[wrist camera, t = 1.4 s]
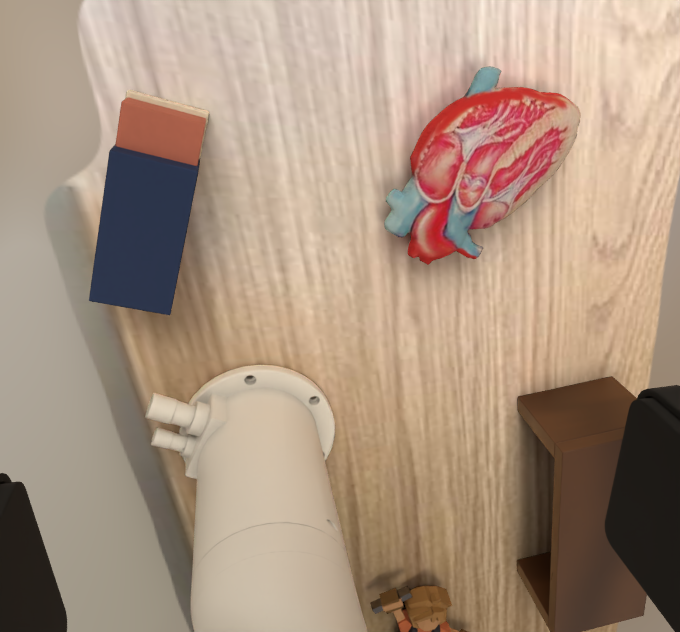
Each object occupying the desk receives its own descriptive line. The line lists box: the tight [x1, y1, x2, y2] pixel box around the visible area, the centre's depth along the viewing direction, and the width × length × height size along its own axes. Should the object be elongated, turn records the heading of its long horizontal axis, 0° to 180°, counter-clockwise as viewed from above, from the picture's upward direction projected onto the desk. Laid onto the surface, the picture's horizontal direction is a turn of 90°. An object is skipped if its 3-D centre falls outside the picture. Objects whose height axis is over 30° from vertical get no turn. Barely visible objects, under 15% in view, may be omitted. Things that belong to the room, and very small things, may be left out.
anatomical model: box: [384, 67, 581, 264], centre depth 42 cm, size 9×15×4 cm, turn 141°
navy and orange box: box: [89, 90, 209, 315], centre depth 39 cm, size 13×5×5 cm, turn 164°
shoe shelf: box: [517, 377, 647, 632], centre depth 56 cm, size 9×22×8 cm, turn 7°
